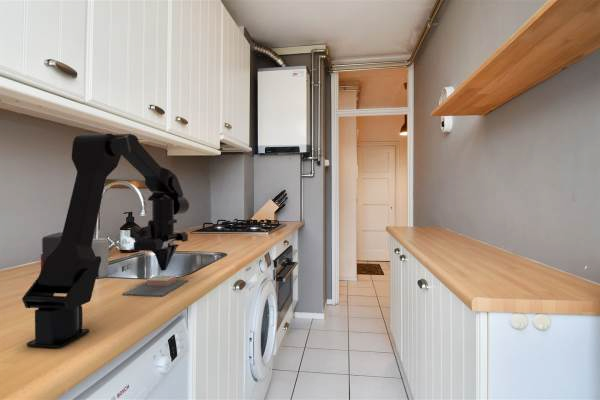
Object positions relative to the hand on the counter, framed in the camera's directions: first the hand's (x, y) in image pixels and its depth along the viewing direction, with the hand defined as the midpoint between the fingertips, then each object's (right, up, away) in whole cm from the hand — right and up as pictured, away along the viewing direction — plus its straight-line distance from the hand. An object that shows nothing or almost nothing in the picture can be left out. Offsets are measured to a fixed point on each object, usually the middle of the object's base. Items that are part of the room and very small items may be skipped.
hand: (163, 270), depth 89 cm
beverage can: (-24, -4, +9) cm, 26 cm away
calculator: (-28, -5, -3) cm, 29 cm away
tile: (-1, -3, -2) cm, 4 cm away
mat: (0, -4, -3) cm, 5 cm away
